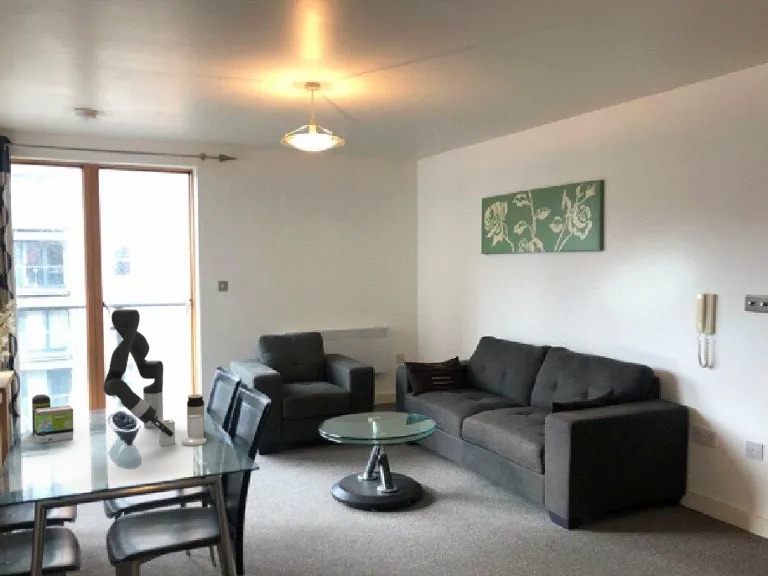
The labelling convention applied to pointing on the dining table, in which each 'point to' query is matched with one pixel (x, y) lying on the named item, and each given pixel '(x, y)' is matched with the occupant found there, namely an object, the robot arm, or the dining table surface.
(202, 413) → the travel mug
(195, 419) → the tall white lidded box
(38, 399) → the coffee jar
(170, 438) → the pale grey boxy piece
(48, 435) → the tea box
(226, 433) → the dining table surface
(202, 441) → the dish
